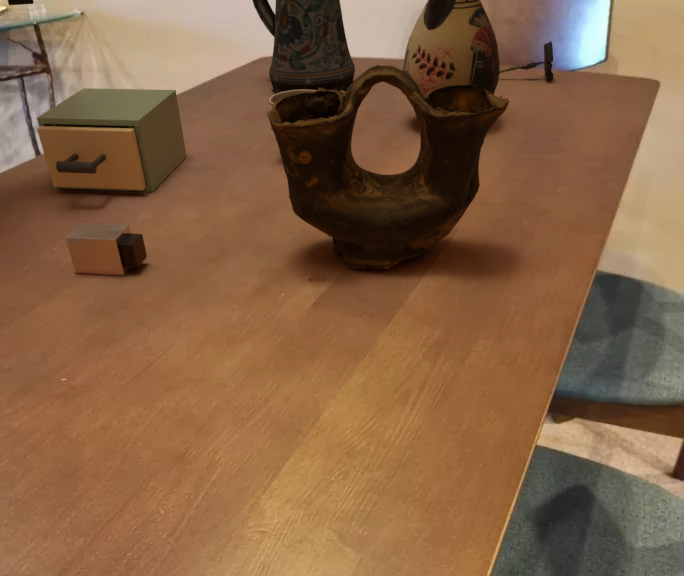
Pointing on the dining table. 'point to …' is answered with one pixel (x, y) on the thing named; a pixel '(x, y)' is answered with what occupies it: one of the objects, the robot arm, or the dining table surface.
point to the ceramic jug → (453, 47)
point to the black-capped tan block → (105, 249)
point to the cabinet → (130, 124)
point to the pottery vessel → (377, 189)
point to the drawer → (93, 156)
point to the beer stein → (307, 45)
